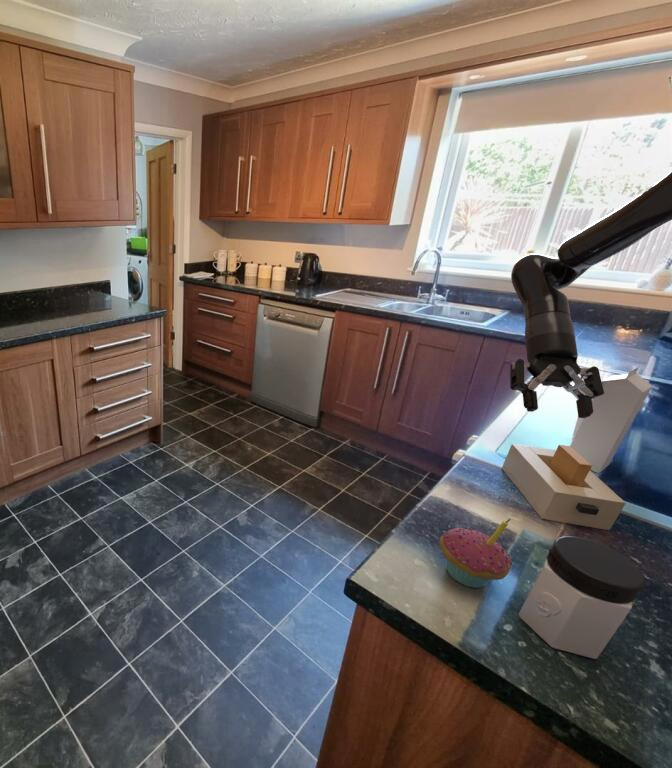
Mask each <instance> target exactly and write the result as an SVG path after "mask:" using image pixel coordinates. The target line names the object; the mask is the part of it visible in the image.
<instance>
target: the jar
mask: <svg viewBox="0 0 672 768" xmlns="http://www.w3.org/2000/svg"><path fill="white" fill-rule="evenodd" d="M645 586H646V577H645V575H644V573H643V572H642V570H641V569H640V568H639V567H638V566H637V565H636V564H635V563H634V562H633V561H631V559H629V558H627V557H626V556H624V555H623V554H621V553H620V552H618V551H616V550H615V549H613V548H611V547H609V546H607V545H604V544H602V543H600V542H597V541H594V540H591V539H588V538H584V537H580V536H574V535H572V536H571V535H565V536H559V537H558V538H556V539H555V540H554V542H553V543H552V545H551V548H550V549H549V550H548V553H547V555H546V557H545V559H544V561H543V563H542V564H541V567H540V568H539V570H538V572H537V574H536V576H535V578H534V580H533V581H532V583H531V586H530V588H529V589H528V591H527V593H526V595H525V597H524V599H523V602H522V604H521V607H520V609H519V612H518V614H517V615H518V618H520V620H522V621H523V622H524V623H525V624H526V625H527V626H528V627H529V628H530V629H532V631H533V632H534V633H536V634H537V636H538V637H540V638H541V639H542V640H543V641H544V642H545V643H546V644H547V645H548V646H550V648H552V649H556V650H559V651H563V652H567V653H571V654H574V655H577V656H581V657H585V658H589V659H592V660H598V658H599V656H600V655H601V654H602V652H603V651H604V649H605V648H606V647H607V645H608V644H609V642H610V641H611V640H612V638H613V636H614V635H615V633H616V632H617V631H618V629H619V627H620V626H621V625H622V624H623V622H624V620H625V619H626V618H627V616H628V615H629V613H630V612H631V610H632V609H633V602H634V601H635V600H636V598H637V597H638V595H639V594H640V593H641V591H642V590H643V588H644V587H645Z"/></svg>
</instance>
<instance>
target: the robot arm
mask: <svg viewBox="0 0 672 768" xmlns="http://www.w3.org/2000/svg"><path fill="white" fill-rule="evenodd" d="M670 221H672V171H670V172H669V173H668V174H666V175H665V176H664V177H663V178H662V179H660V180H659V181H657V182H656V183H655V184H654V185H652V186H650V188H648V189H647V190H645V191H644V192H642V193H641V194H639V195H638V196H636V197H635V198H634V199H632V200H631V201H629V202H627V203H626V204H624V205H622V206H621V207H619V208H618V209H615V210H614V211H613V212H611V213H609V214H608V215H605V216H604V217H602V218H600V219H599V220H597V221H595V222H593V223H592V224H590V225H589V226H587V227H585V228H584V229H582V230H579V232H577V233H575V234H573V235H572V236H570V237H568V238H567V239H565V240H564V241H563V242H562V243H561V244H560V245H559V246H558V248H557V257H558V258H557V257H554V256H549V255H544V254H540V253H530V254H529V253H528V254H525V255H524V256H521V257H520V258H519V259H518V260H517V261H516V262H515V264H514V265H513V267H512V269H511V274H510V278H511V284H512V287H513V289H514V291H515V293H516V296H517V297H518V299H519V301H520V303H521V304H522V306H523V314H524V323H525V324H524V325H525V327H524V340H525V348H526V359H527V360H526V361H527V362H526V361H524V359H522V358H518V359H516V360H515V361H513V362H512V363H510V365H509V384H510V385H509V387H510V390H512V391H518V392H520V393H521V394H522V403H523V407H524V409H526V411H527V412H529V413H533V412H535V411H537V410H538V409H539V403H538V394H537V390H536V389H537V388H538V387H539V385H542V386H544V387H550V386H552V387H556V388H563V389H564V390H565V391H566V392H567V393H570V394H572V395H573V396H574V397H575V398H576V399H577V400H575V404H576V410H577V417H579V418H586V417H589V416H590V415H591V414H592V413H593V407H592V399H594V398H596V397H598V396H600V395H603V394H604V390H603V386H602V381H603V380H602V377H601V373H600V370H599V368H598V367H597V366H595V365H592V366H591V367H580V365H579V364H578V357H579V356H578V355H579V353H578V348H577V341H576V334H575V327H574V324H573V321H572V317H571V312H570V311H571V310H570V304H569V299H568V297H567V295H566V294H565V293H563V292H562V291H560V290H563V289H566V288H567V287H568V286H570V285H572V284H573V283H574V282H575V281H576V280H578V278H580V277H581V276H582V275H583V274H585V273H586V272H587V271H589V270H590V269H591V267H593V266H595V265H597V264H600V263H601V262H603V261H605V260H607V259H609V258H611V257H612V256H615V255H617V254H619V253H621V252H623V251H624V250H627V248H630V247H631V246H633V245H635V244H636V243H637V242H639V241H640V240H642V239H643V238H644V237H646V236H647V235H649V234H650V233H651V232H653V231H655V230H656V229H658V228H660V227H662V226H663V225H664V224H666V223H669V222H670ZM526 371H528V372H529V373H530V375H531V376H532V377H531V378H530V379H529V380H528V381H527V383H526V382H525V372H526ZM572 382H573V383H574V384H571V383H572Z"/></svg>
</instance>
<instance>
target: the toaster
mask: <svg viewBox="0 0 672 768" xmlns="http://www.w3.org/2000/svg"><path fill="white" fill-rule="evenodd" d="M556 450H557V449H552V448H551V449H550V448H544V447H537V446H531V445H521V444H515V443H512V444H511V445H510V447H509V450H508V452H507V455H506V457H505V459H504V462H503V464H502V466H501V470H503V472H504V473H505V474H506V476H507V477H508V478H509V480H511V482H512V483H513V484H514V486H515V487H516V489H518V491H519V492H520V493H521V495H522V496H523V497H524V498H525V500H526V501H527V502H528V503H529V505H530V506H531V507H532V509H533V510H534V511H535V512H536V513H537V515H538V516H539V518H540V519H542V520H546V521H552V522H557V523H558V522H559V523H564V524H570V525H575V526H582V527H587V528H593V529H599V530H605V531H610V530H611V529H612V527H613V526H614V524H615V522H616V520H617V519H618V517H619V515H620V514H621V512H622V511H623V509H624V507H625V506H626V502H625V501H624V500H623V499H622V498H621V497H620V496H619V495H617V493H615V491H613V489H611V488H610V487H609V486H608V485H607V484H605V483H604V481H602V480H601V479H600V478H599V477H598V476H597V475H596V474H595V473H593V471H592V470H590V471H589V473H588V474H587V476H586V478H585V480H584V482H583V484H582V486H581V487H578V486H571V485H565V483H564V482H563V481H562V480H561V479H560V478H559V477H558V476H557V475H556V474H555V473H554V472H553V471H552V470H551V469H550V468H549V467H548V466H549V464H550V462H551V460H552V458H553V456H554V454H555V452H556Z"/></svg>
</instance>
